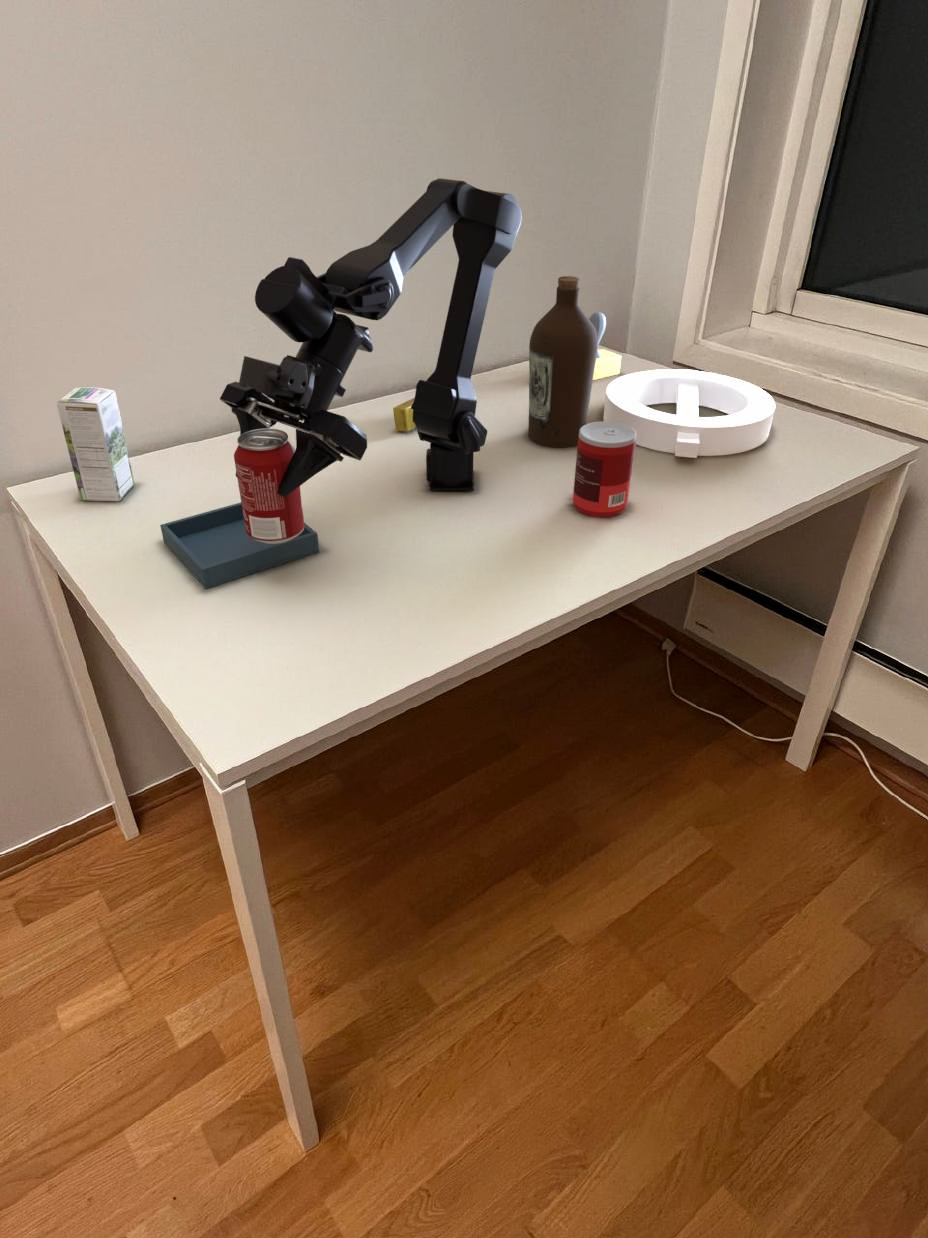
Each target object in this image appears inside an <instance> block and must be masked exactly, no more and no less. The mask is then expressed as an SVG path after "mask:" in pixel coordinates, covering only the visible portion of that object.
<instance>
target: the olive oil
mask: <svg viewBox="0 0 928 1238" xmlns="http://www.w3.org/2000/svg"><path fill="white" fill-rule="evenodd" d="M557 284H558V285H557V287H556V294H555V295H556V296H555V298H556V299H555V304H554V305H553V306H552V307H551V308H550V309H549V310H548V311H547V312H546V313H545V314H544V315H543V316H542V317H541V318H540V319H539V320H538V322H537V323H536V324H535V325H534V328H533V329H532V332H531V335H530V338H529V346H528V351H529V352H528V358H529V359H528V363H529V364H528V365H529V366H528V379H529V380H528V383H529V384H528V424H527V425H528V426H527V427H528V428H527V429H528V430H527V435H528V438H529V440H531V441H532V442H534V443H535V444H537V445H540V446H544V447H548V448H569V447H570V448H571V447H575V446H578V437H579V432H580V428H581V427H582V426H584V425H586V424H588V416H589V409H590V402H591V394H592V387H593V381H594V380H593V376H594V369H595V363H596V357H597V350H599V345H598V339H597V333H596V330H595V328H594V326H593V324H592V323H591V321H590V320H589V318H588V316H587V314H585V312H584V311H583V310H582V308H581V306H580V305H579V297H580V288H579V285H580V278H579V277H577V276H573V275H564V276H563V275H562V276H560V277H558V279H557Z"/></svg>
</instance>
